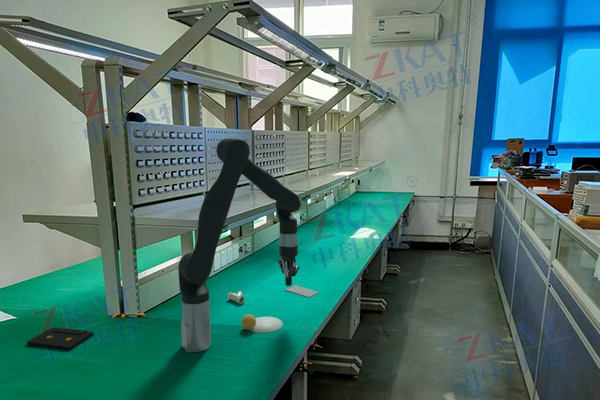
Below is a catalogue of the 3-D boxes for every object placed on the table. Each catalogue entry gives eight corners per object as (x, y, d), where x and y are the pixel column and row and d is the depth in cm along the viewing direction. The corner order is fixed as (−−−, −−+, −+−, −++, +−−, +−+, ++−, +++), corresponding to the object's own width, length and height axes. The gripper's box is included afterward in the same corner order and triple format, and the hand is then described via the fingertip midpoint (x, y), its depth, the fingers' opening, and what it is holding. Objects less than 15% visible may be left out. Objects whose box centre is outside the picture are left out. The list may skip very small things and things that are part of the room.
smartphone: (309, 297, 189) (284, 289, 198) (309, 299, 189) (284, 291, 198) (319, 292, 195) (295, 284, 204) (319, 294, 195) (295, 286, 204)
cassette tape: (93, 336, 152) (93, 331, 152) (70, 352, 141) (69, 346, 141) (52, 332, 156) (52, 326, 156) (26, 346, 145) (26, 341, 145)
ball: (252, 334, 155) (242, 328, 152) (246, 329, 160) (236, 322, 157) (261, 321, 157) (251, 315, 154) (254, 316, 161) (244, 310, 158)
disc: (257, 336, 151) (257, 335, 151) (241, 322, 163) (241, 322, 163) (289, 327, 159) (289, 326, 159) (271, 314, 171) (271, 314, 170)
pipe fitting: (239, 297, 191) (227, 300, 186) (239, 289, 190) (227, 292, 185) (250, 302, 185) (238, 305, 180) (250, 293, 185) (239, 296, 180)
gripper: (272, 241, 166) (272, 282, 168) (289, 248, 155) (289, 292, 157) (287, 239, 170) (288, 279, 172) (305, 245, 159) (305, 288, 161)
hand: (288, 285), depth 165 cm, fingers closed
